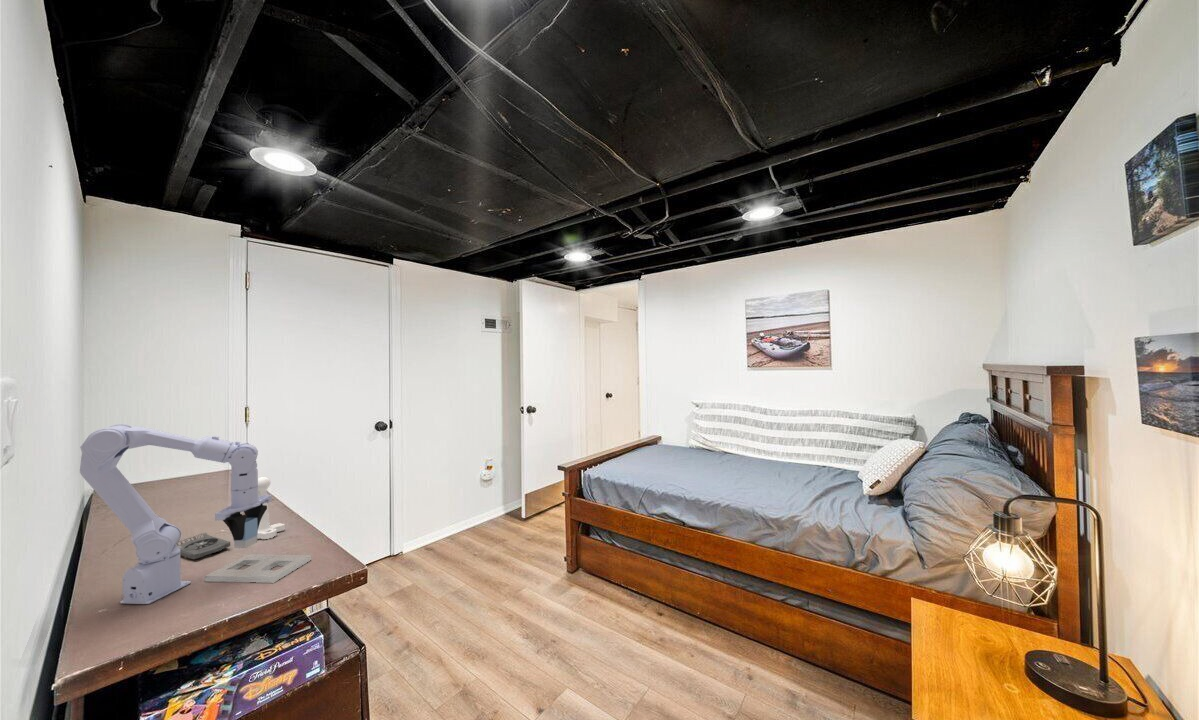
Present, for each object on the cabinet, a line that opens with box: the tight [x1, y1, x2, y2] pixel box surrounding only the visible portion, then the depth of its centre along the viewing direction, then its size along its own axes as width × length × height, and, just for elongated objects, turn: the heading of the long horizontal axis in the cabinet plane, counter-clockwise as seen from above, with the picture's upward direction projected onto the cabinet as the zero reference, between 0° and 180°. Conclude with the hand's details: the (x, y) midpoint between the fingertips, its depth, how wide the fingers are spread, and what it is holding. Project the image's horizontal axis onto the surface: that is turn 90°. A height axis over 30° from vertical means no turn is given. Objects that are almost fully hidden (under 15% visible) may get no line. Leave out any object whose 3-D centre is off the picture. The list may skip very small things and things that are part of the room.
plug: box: [232, 518, 258, 549], centre depth 112 cm, size 4×4×7 cm
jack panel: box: [204, 553, 312, 584], centre depth 111 cm, size 12×20×2 cm, turn 85°
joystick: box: [257, 476, 286, 540], centre depth 134 cm, size 11×8×20 cm
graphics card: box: [176, 531, 231, 560], centre depth 123 cm, size 17×4×12 cm
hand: (245, 536), depth 112 cm, fingers closed on plug, 4 cm apart
